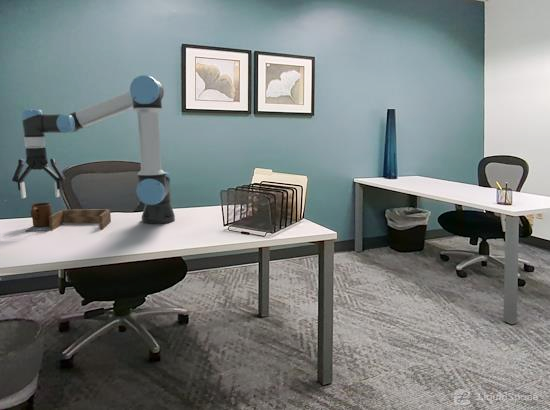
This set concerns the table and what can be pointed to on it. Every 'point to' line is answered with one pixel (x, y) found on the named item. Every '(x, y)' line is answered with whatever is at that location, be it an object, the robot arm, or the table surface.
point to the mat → (38, 229)
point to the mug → (41, 214)
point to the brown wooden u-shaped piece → (80, 217)
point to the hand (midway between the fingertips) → (40, 197)
